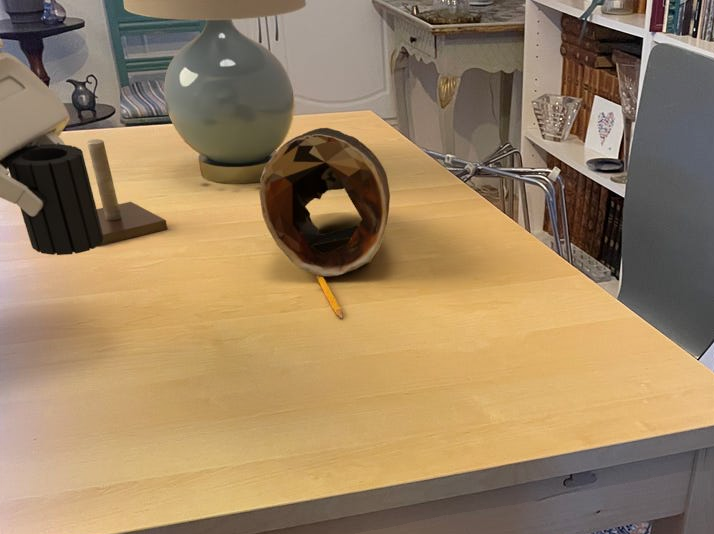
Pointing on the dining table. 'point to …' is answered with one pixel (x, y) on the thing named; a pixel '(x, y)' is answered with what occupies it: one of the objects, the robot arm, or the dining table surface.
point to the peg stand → (113, 216)
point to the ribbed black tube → (58, 198)
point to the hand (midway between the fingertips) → (61, 195)
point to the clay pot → (311, 180)
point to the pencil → (329, 295)
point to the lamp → (226, 86)
